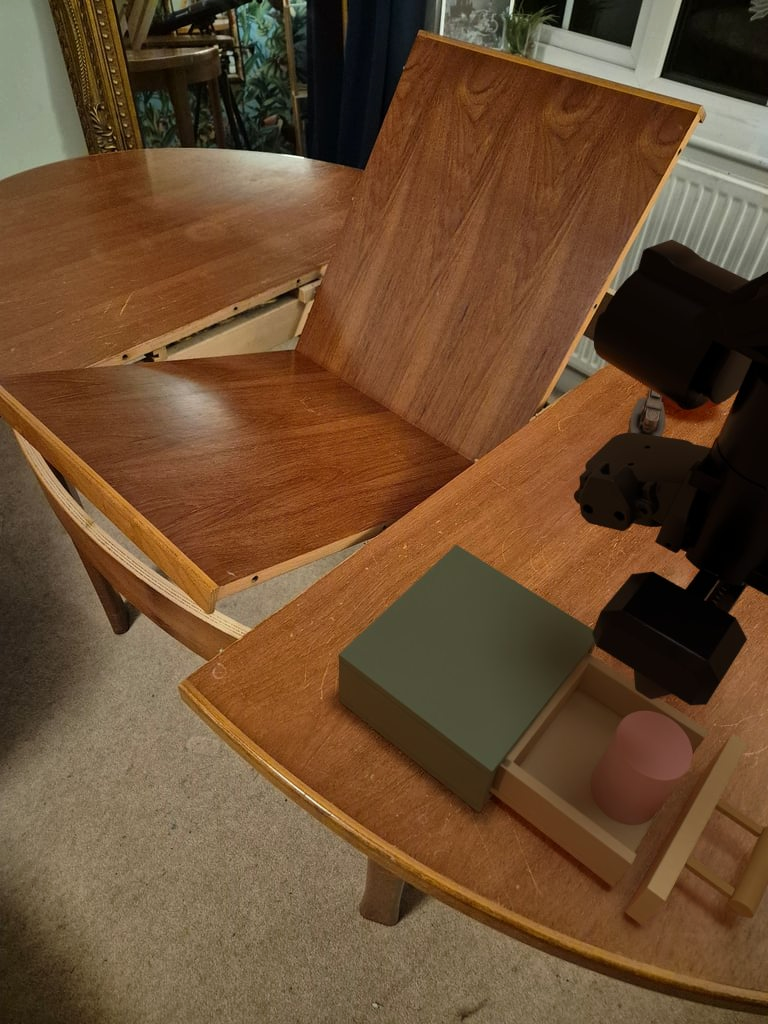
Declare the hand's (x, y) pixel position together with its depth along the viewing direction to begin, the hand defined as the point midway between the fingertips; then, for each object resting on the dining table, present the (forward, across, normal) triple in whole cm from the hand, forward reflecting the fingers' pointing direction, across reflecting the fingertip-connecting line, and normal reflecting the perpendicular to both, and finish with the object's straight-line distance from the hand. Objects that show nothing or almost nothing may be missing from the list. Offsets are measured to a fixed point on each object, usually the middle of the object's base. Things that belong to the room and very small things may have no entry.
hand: (677, 645), depth 47 cm
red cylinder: (+12, +4, +2) cm, 13 cm away
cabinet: (+14, +4, -12) cm, 19 cm away
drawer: (+13, +4, +3) cm, 14 cm away
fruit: (+14, -45, -16) cm, 50 cm away
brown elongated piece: (+14, -29, -15) cm, 36 cm away
